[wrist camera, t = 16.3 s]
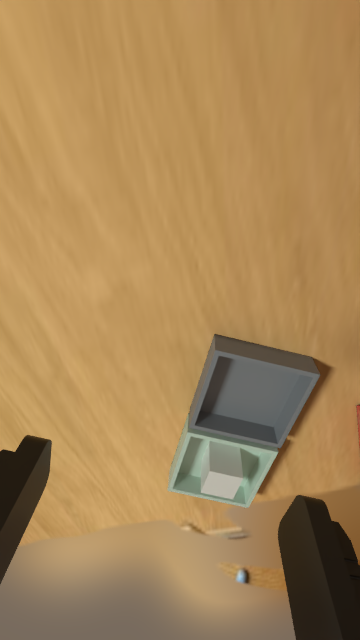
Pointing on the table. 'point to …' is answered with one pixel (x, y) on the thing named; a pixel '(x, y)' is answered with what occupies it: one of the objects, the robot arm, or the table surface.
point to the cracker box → (359, 416)
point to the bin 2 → (190, 456)
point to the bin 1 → (251, 391)
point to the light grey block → (221, 470)
